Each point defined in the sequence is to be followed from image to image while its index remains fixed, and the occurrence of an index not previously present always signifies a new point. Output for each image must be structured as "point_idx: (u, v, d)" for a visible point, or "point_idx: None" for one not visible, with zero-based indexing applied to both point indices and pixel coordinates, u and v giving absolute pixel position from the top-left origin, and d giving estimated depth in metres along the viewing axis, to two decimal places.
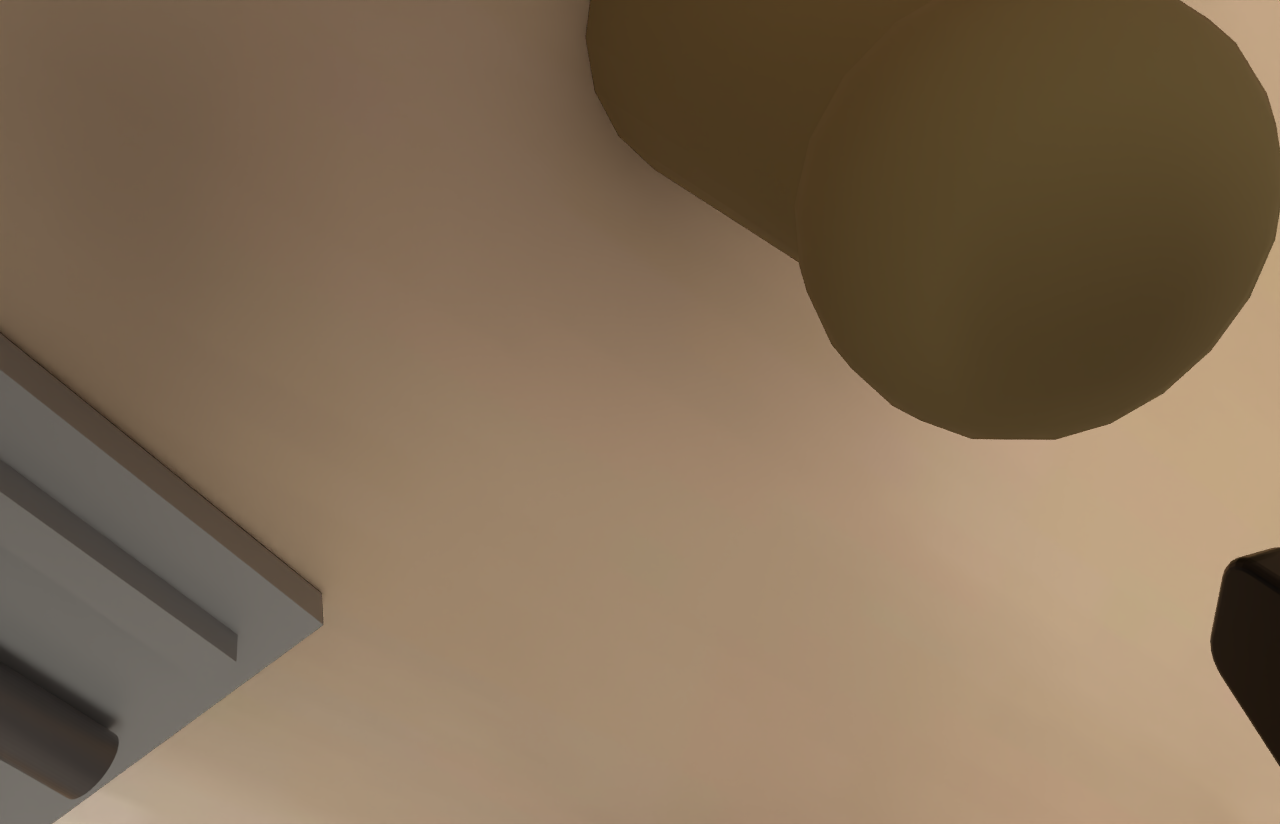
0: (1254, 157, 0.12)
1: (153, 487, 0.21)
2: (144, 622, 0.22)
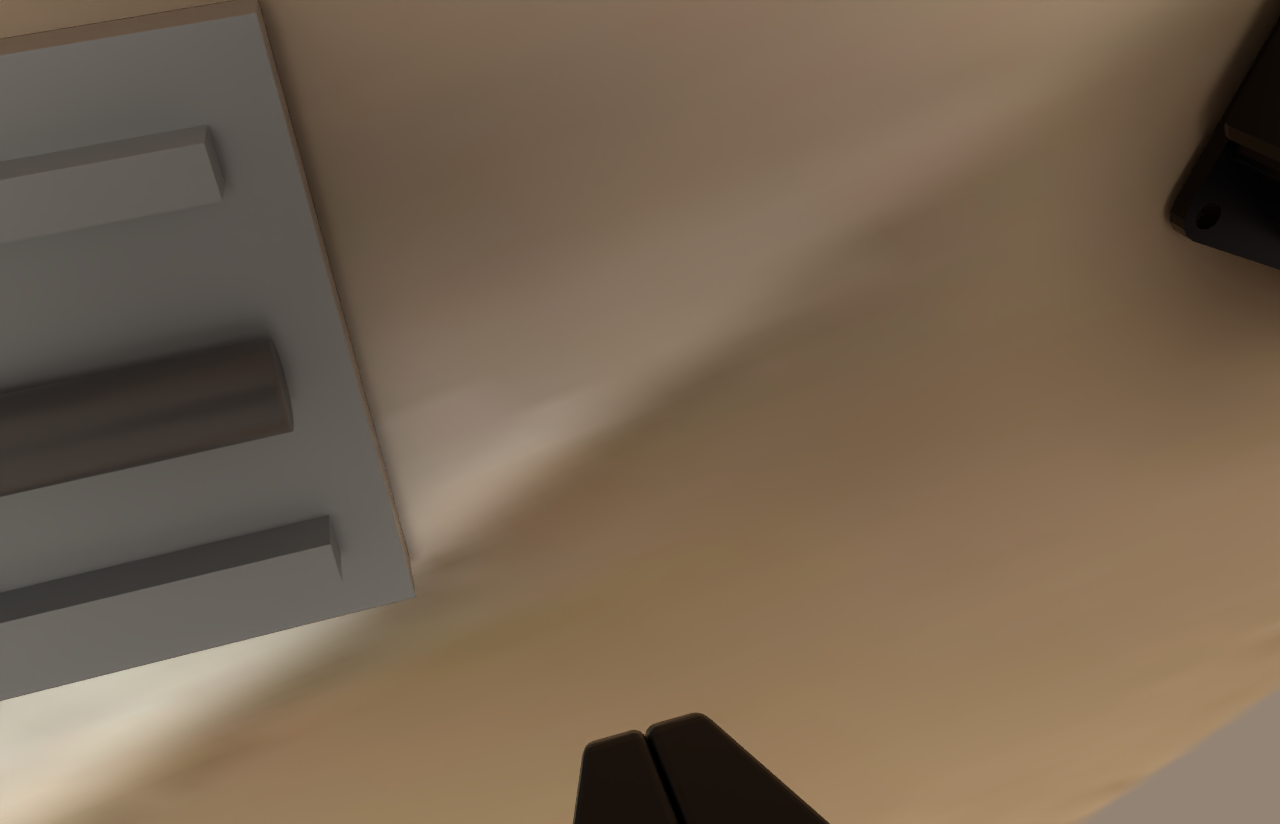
0: None
1: None
2: (64, 203, 0.15)
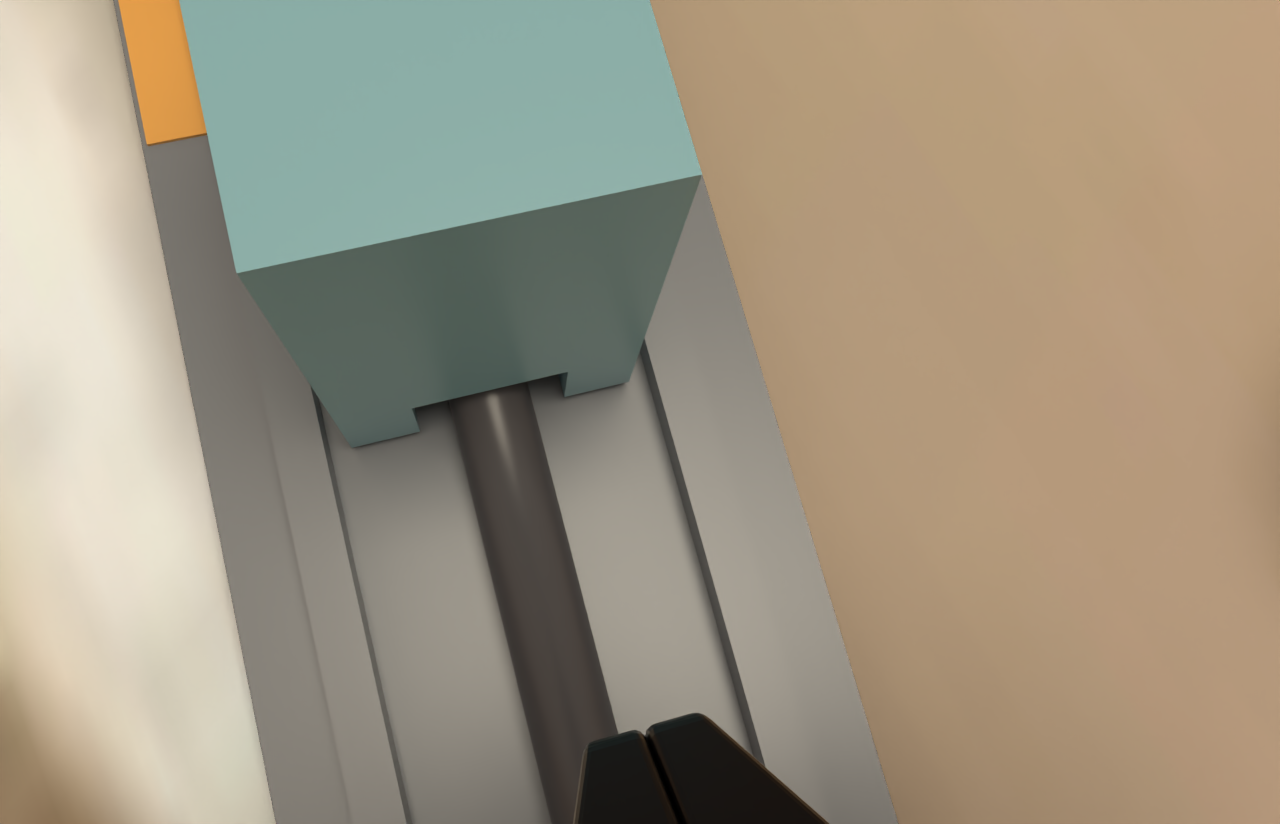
0: None
1: (843, 647, 0.21)
2: (789, 769, 0.19)
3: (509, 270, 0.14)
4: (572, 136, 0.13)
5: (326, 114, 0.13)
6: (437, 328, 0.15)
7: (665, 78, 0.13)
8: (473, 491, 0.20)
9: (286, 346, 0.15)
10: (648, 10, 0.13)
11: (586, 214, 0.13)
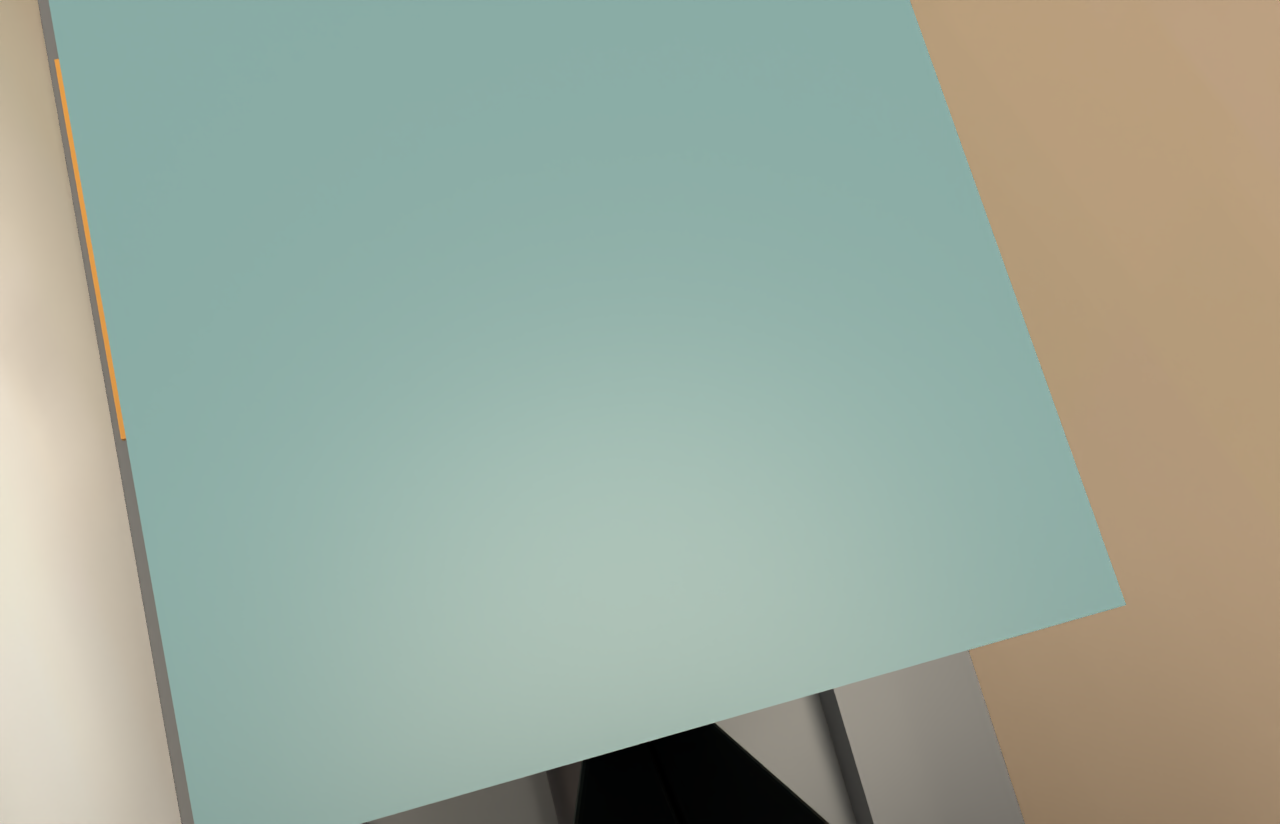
0: None
1: None
2: None
3: None
4: (872, 532, 0.06)
5: (388, 501, 0.06)
6: None
7: (1038, 403, 0.07)
8: None
9: None
10: (990, 262, 0.07)
11: None
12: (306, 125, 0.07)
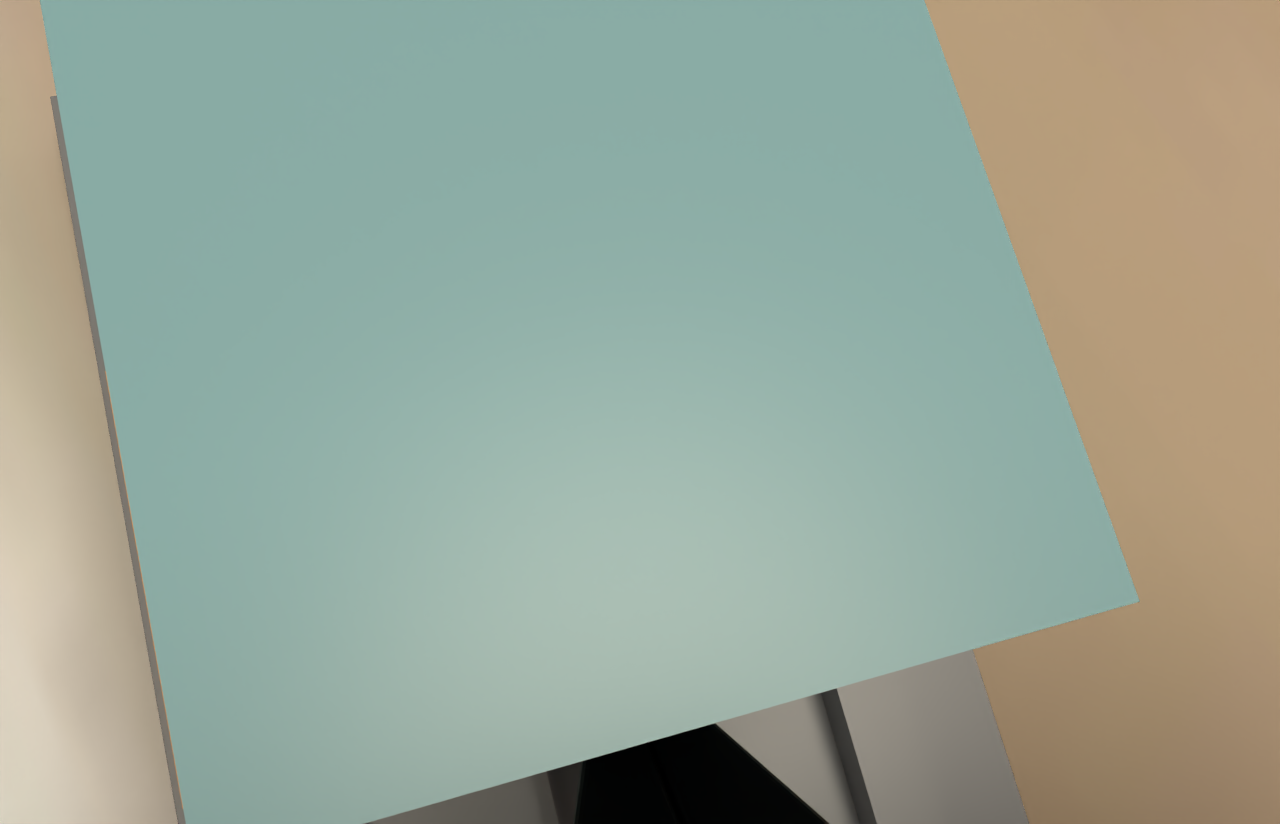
0: None
1: None
2: None
3: None
4: (880, 527, 0.06)
5: (384, 495, 0.06)
6: None
7: (1049, 396, 0.07)
8: None
9: None
10: (1001, 250, 0.07)
11: None
12: (301, 110, 0.07)
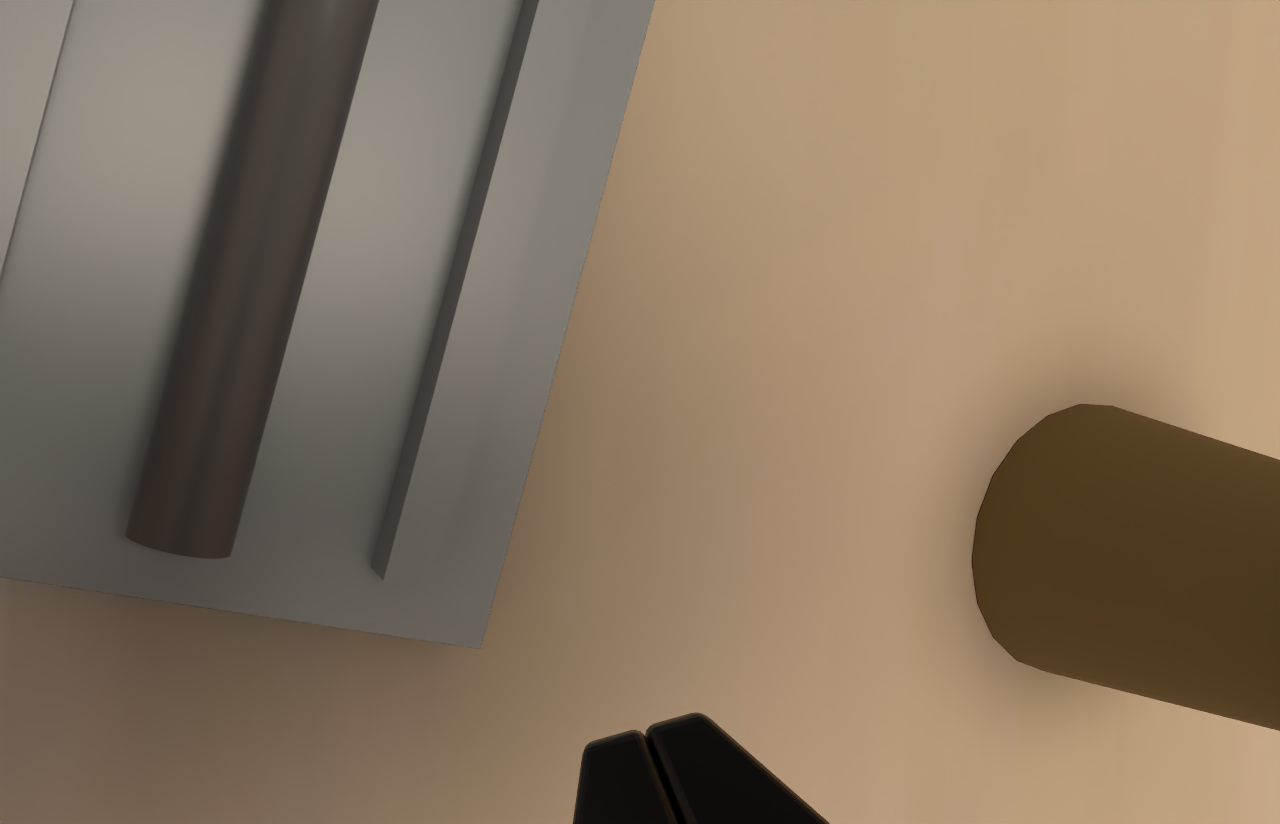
0: None
1: (550, 381, 0.19)
2: (439, 463, 0.18)
3: None
4: None
5: None
6: None
7: None
8: None
9: None
10: None
11: None
12: None
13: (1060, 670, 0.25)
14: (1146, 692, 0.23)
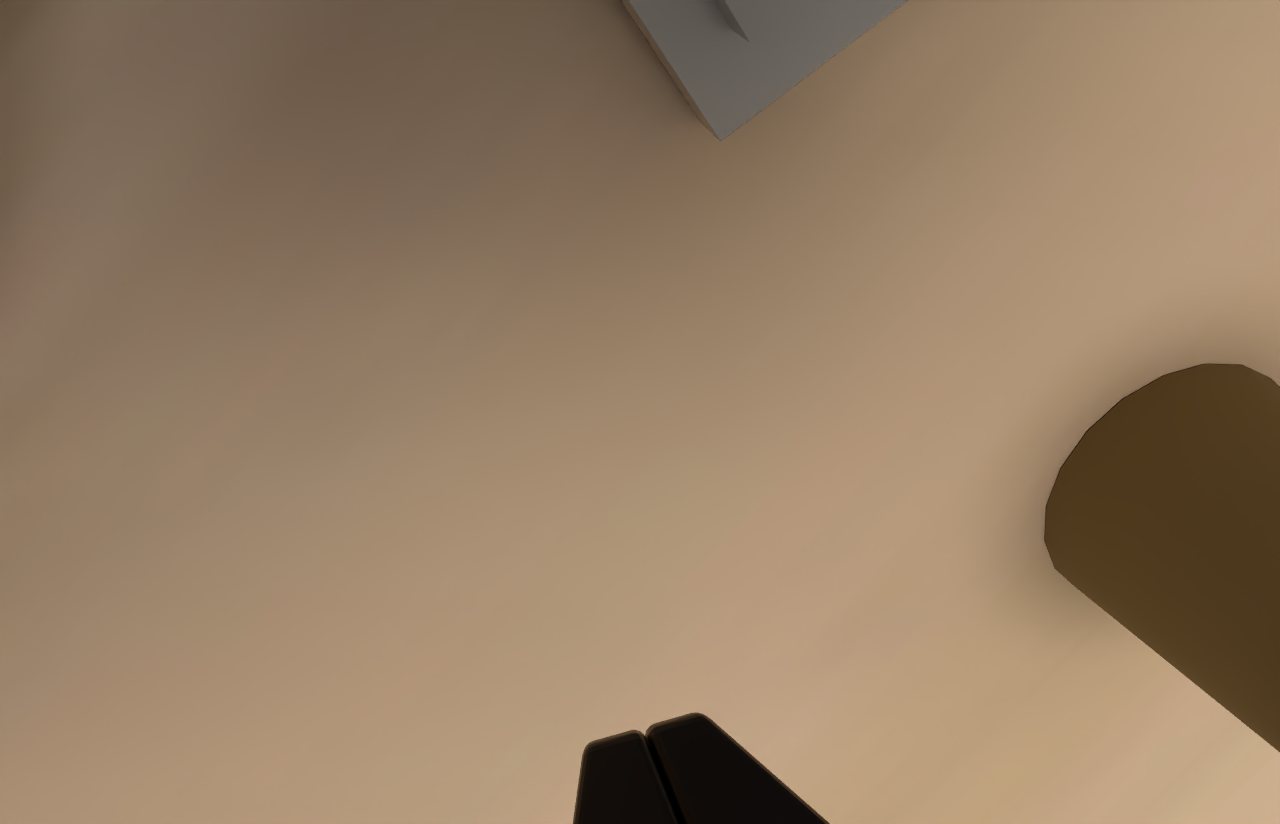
0: None
1: None
2: None
3: None
4: None
5: None
6: None
7: None
8: None
9: None
10: None
11: None
12: None
13: (1083, 569, 0.24)
14: (1155, 628, 0.23)
